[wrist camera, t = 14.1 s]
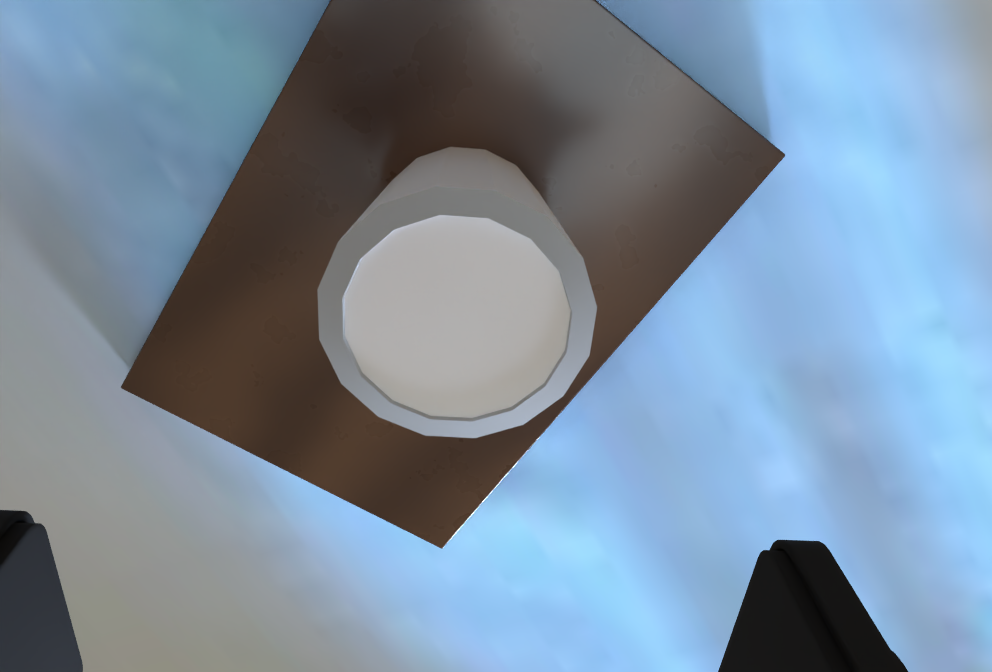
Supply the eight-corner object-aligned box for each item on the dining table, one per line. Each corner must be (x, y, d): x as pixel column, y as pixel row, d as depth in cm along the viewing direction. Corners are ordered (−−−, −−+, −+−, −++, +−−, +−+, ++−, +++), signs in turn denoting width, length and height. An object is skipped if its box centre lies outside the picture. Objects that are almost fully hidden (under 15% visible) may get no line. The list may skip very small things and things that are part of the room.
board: (132, 374, 27) (120, 388, 26) (414, -145, 20) (411, -150, 19) (443, 532, 31) (442, 549, 30) (774, 148, 24) (786, 155, 23)
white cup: (557, 113, 22) (590, 169, 16) (572, 313, 25) (604, 426, 19) (337, 140, 22) (282, 206, 16) (379, 335, 25) (347, 455, 19)
